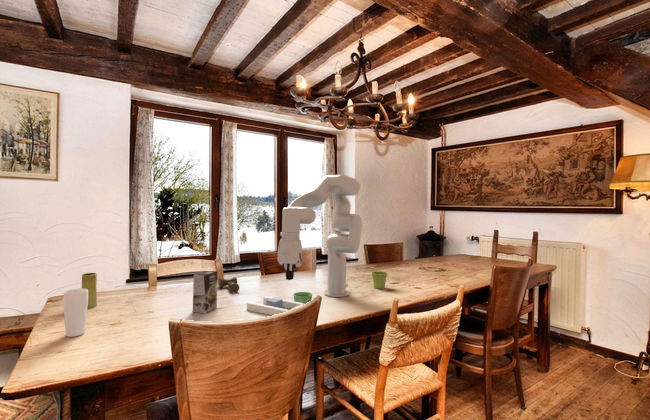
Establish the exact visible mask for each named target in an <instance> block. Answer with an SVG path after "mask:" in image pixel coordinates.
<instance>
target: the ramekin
mask: <svg viewBox="0 0 650 420" xmlns="http://www.w3.org/2000/svg"><path fill="white" fill-rule="evenodd" d="M292 295H293V301H294V302H300V303H305V304H306V303H307V302H309V301H311V300H313V299H312V298H313V293H312V292H309V291H298V292H297V291H296V292H294V293H293V294H292ZM311 302H312V301H311Z"/></svg>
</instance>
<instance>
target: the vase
mask: <svg viewBox="0 0 650 420" xmlns="http://www.w3.org/2000/svg"><path fill="white" fill-rule="evenodd" d="M97 279H98V275H97V273H96V272H86V273H82V274H81V288H83V289H88V307H87V309H93V308H96V307H97V306H98V295H97V292H98V291H97V284H98V283H97V281H98V280H97Z"/></svg>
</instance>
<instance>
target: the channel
mask: <svg viewBox="0 0 650 420" xmlns="http://www.w3.org/2000/svg"><path fill="white" fill-rule="evenodd" d="M271 298H274V297H272V296H266V295H265V296H264V297H262V299H263V302H262V303H258V302H253V301H248V302H246V310H247V311H250V312H254V313H259V314H263V313H264V315H268V314H269V315H268V316H272V315H274V314H279V313H283V312H286V311H289V310H292V309H294V308H297V307H300V306H302V305H304V304H305V303H300V302H294V300H289V299H283V298H282V299H283V307H285V308H277V307H273V306H268V305H266V300H269V299H271ZM287 308H289V309H287Z"/></svg>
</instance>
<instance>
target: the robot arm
mask: <svg viewBox="0 0 650 420" xmlns="http://www.w3.org/2000/svg"><path fill="white" fill-rule="evenodd" d="M360 190H361V186H360V182H359V181H358V180H357V179H356V178H353V177H351V176H349V175H345V174H328V175H324V176H323V177H322V178H320V180H319V181H318V182H317V183H316V185H314V187H313V188H312V189H311V190H310V191H308V192H306V193H304V194H302V195H300V196H298V197H297V198H296V199H294V200H293V201H292V202H291V203H290V204H289V205H288V206H287V207H283V209H282V214H281V215H282V220H281V232H280V233H279V236H280V237H281V238H280V240H279V242H278V248H277V257H276V259H277V262H278V264H279V265H280V266H282V267H283V268H284V270H285V280H286V281H291V280H293V279H294V277H295V276H294V275H295V270H296V268H298V267H301V266H302V262H303V247H302V240H301V239H300V237H301V236H300V235H301V233H300V232H301V231H300V230H301V229H300V228H301V225H311V224H312V223H314V222H315V220H316V218H317V215H316V211H315V210H314V209H313V208H315V207H318V206H321V205H323V204H325V203H326V202H327V200H328V198H330V197H332V199H333V201H334V210H333V216H332V229H333V230H334V231H337V232H343V233H332V234H329V235H328V236H327V238H326V250H327V289H326V290H324V295H325V296H327V297H332V298H343V297H347V296H349V293H350V292H349V291H348V290H346V289H347V288H348V287H349V285H348V283H347V259H346V256H345V254H356V253H357V252H358V251H359V249H360V247H361V246H360V244H361V239H362V238H361V237H362V230H363V222H362V221H363V220H362V218H361V216H360V215H359V214H357V213H351V206H352V205H351V202H350V200H349V199H348V197H349V196H350V197H351V196H352V197H353V196H356V195H358V194H359V193H360ZM347 196H348V197H347ZM344 232H345V233H344ZM346 232H347V233H348V234H346Z"/></svg>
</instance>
